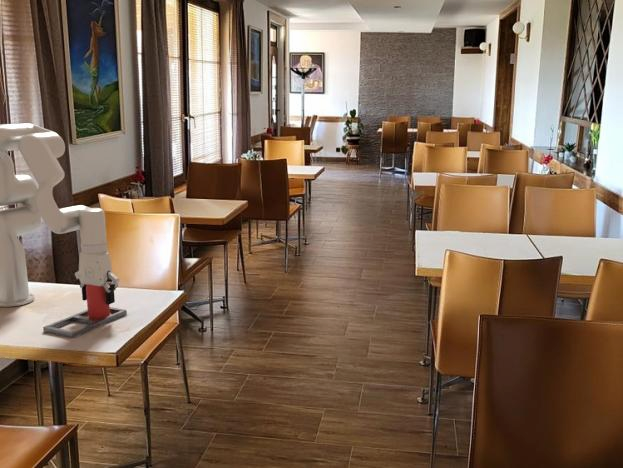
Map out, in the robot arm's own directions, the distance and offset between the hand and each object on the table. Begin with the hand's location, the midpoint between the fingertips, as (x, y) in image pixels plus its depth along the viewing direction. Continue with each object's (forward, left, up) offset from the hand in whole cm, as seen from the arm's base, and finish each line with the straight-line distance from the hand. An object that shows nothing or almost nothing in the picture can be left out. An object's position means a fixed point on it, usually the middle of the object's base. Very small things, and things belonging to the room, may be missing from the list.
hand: (98, 301), depth 198 cm
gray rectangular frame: (0, -5, -5) cm, 8 cm away
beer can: (0, 0, -5) cm, 5 cm away
